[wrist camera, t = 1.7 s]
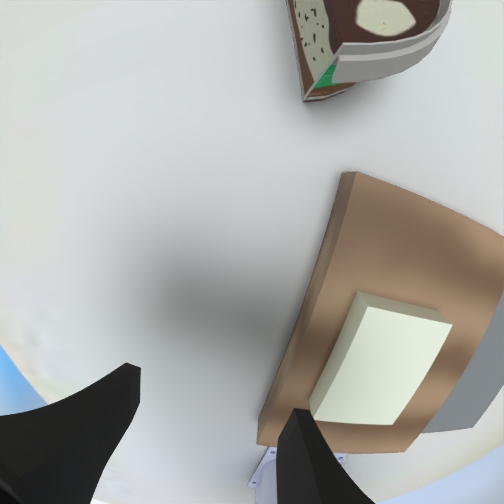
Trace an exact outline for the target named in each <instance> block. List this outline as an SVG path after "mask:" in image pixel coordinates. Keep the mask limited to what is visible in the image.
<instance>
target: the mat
mask: <svg viewBox="0 0 504 504" xmlns="http://www.w3.org/2000/svg"><path fill="white" fill-rule="evenodd" d="M503 385H504V290H503V293H502V295H501V298H500V300H499V303H498V305H497V308H496V310H495V312H494V314H493V317H492V319H491V321H490V323H489V325H488V328H487V330H486V332H485V334H484V336H483V338H482V340H481V342H480V344H479V346H478V347H477V349H476V351H475V353H474V355H473V357H472V358H471V360H470V362H469V364H468V365H467V367H466V369H465V370H464V372H463V374H462V375H461V377H460V379H459V380H458V382H457V383H456V385H455V387H454V388H453V390H452V391H451V393H450V394H449V396H448V397H447V399H446V400H445V401H444V403H443V404H442V406H441V407H440V408H439V410H438V411H437V413H436V414H435V415H434V417H433V418H432V419H431V421H430V422H429V423H428V424H427V426H426V427H425V428H424V429H423V431H422V432H421V433H431V432H442V431H451V430H459V429H466V428H472V427H473V426H474V425H475V424H476V423H477V421H478V420H479V419H480V418H481V416H482V415H483V414H484V412H485V411H486V409H487V408H488V407H489V405H490V404H491V402H492V401H493V400H494V398H495V397H496V395H497V394H498V392H499V391H500V389H501V388H502V386H503Z"/></svg>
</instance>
